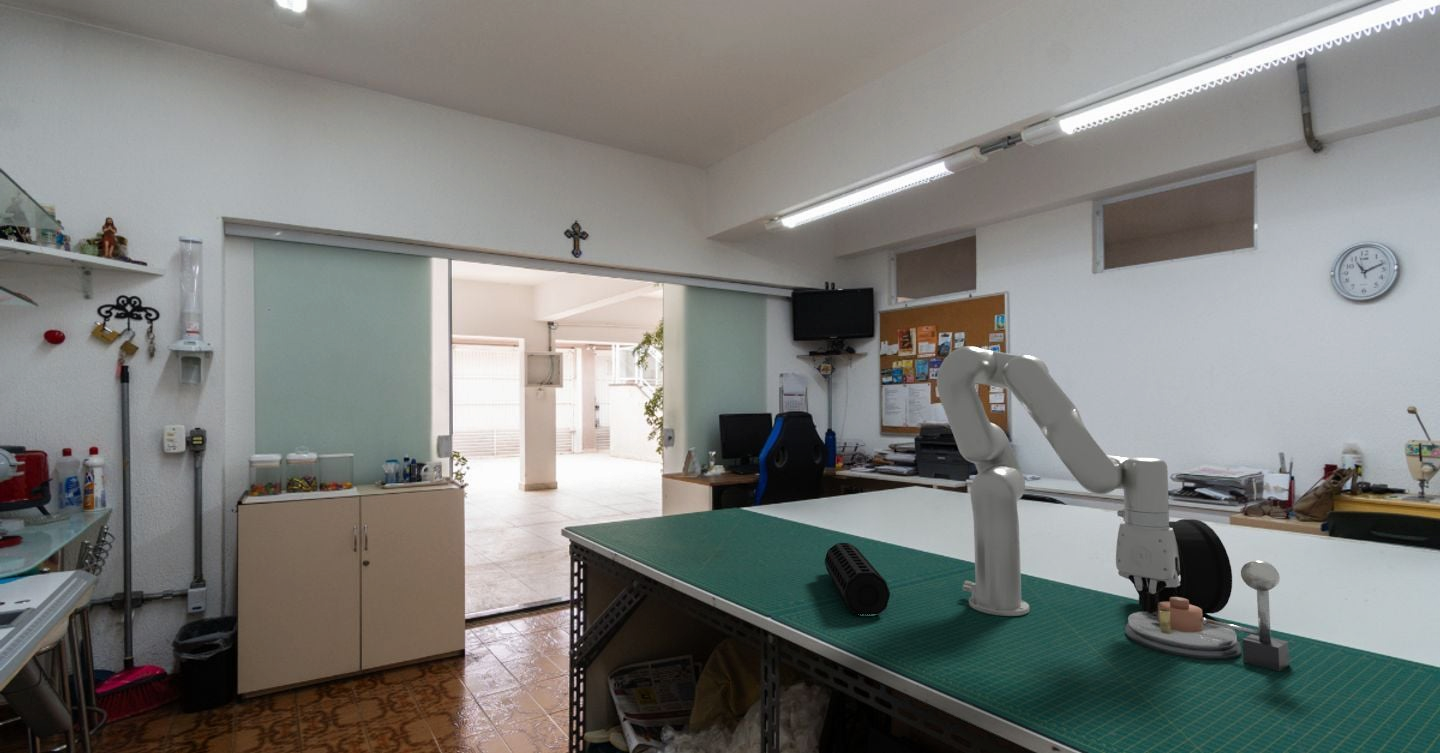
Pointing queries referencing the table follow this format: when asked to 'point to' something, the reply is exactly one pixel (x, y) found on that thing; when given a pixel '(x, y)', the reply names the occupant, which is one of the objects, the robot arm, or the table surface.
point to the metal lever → (1260, 620)
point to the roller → (856, 580)
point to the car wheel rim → (1200, 567)
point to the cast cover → (1182, 614)
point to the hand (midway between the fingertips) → (1149, 611)
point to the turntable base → (1184, 651)
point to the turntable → (1181, 632)
